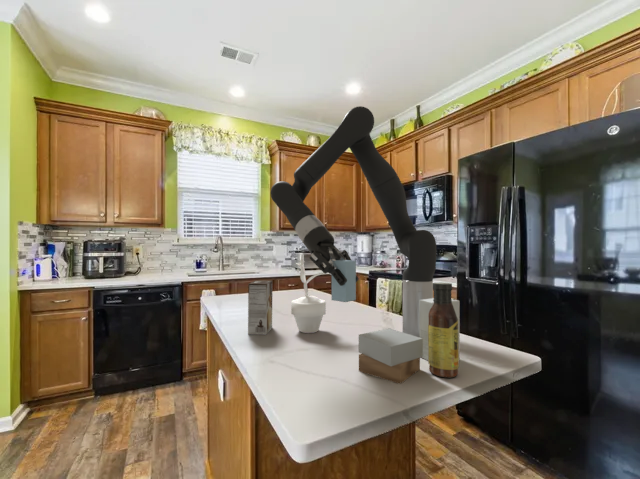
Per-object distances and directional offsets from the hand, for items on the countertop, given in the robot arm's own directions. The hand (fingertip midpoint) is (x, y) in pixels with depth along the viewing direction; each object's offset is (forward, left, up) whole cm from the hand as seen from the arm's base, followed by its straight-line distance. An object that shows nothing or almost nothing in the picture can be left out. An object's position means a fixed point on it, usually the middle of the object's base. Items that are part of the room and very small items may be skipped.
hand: (350, 282), depth 78 cm
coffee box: (+14, -34, -19) cm, 41 cm away
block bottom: (-5, +10, -19) cm, 22 cm away
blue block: (+1, -2, -5) cm, 5 cm away
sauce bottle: (-15, +16, -19) cm, 29 cm away
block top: (-5, +10, -15) cm, 19 cm away
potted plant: (-1, -27, -19) cm, 33 cm away
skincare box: (-21, +9, -19) cm, 30 cm away
